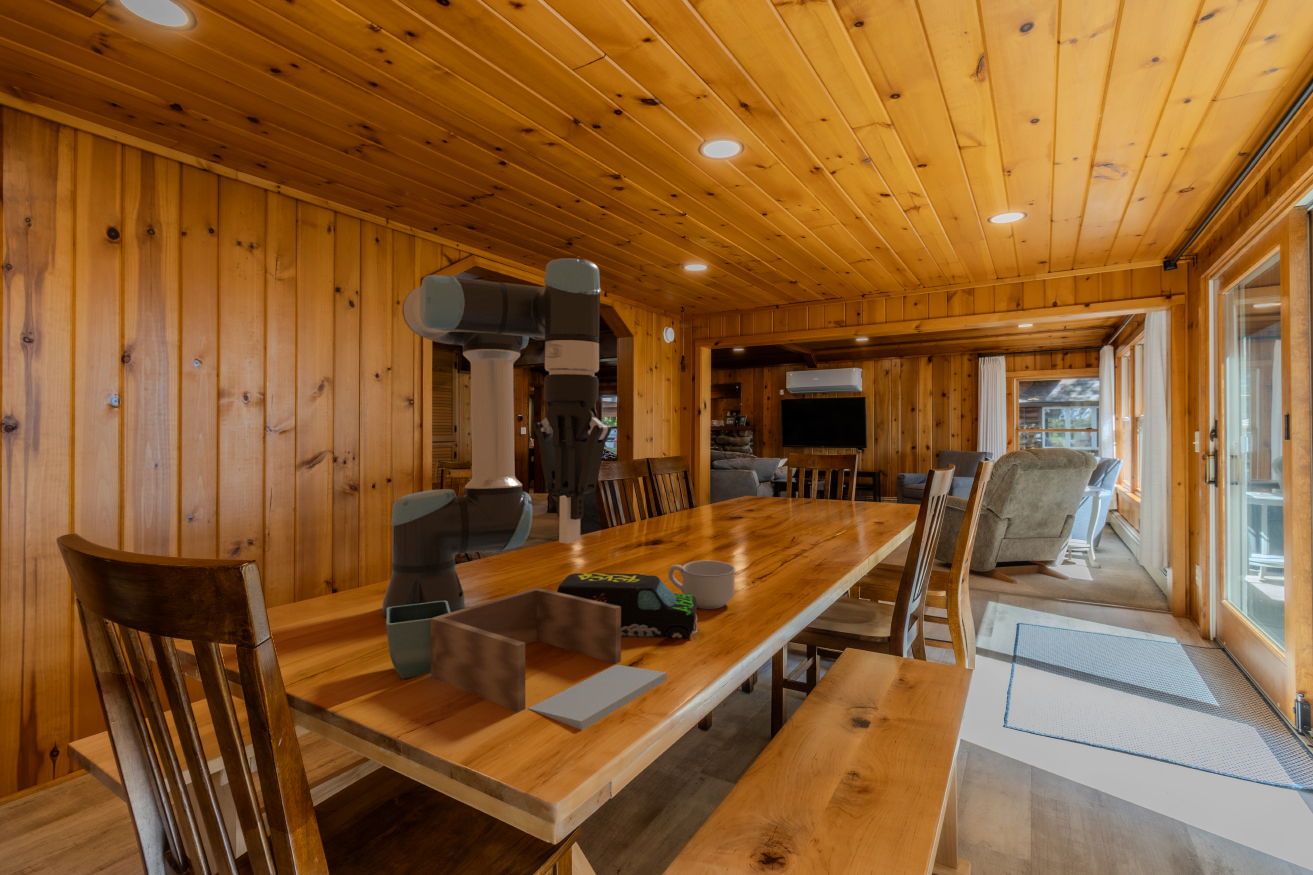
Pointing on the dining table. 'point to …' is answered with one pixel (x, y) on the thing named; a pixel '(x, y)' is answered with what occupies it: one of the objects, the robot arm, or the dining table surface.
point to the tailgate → (599, 695)
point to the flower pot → (412, 636)
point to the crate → (518, 640)
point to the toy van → (638, 603)
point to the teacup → (706, 582)
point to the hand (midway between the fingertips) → (569, 541)
